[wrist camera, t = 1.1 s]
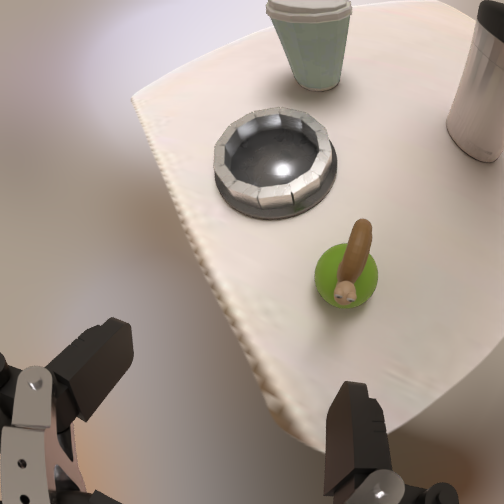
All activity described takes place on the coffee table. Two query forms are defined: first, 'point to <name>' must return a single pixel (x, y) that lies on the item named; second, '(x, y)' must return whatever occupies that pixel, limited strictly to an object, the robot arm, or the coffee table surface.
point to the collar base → (274, 163)
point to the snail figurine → (348, 269)
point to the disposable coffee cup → (312, 38)
